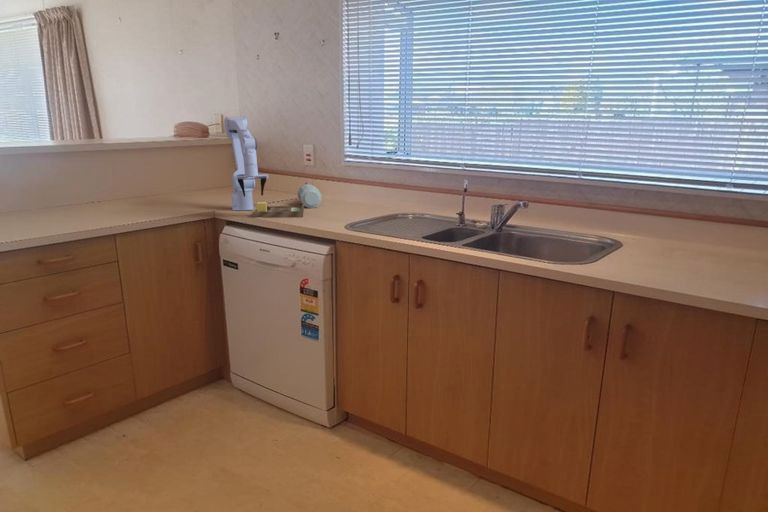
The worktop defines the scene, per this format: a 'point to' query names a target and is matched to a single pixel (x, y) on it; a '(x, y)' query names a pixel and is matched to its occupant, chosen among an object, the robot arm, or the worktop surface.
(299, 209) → the tray
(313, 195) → the device
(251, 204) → the robot arm
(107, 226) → the worktop surface
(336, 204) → the worktop surface
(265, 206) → the block
